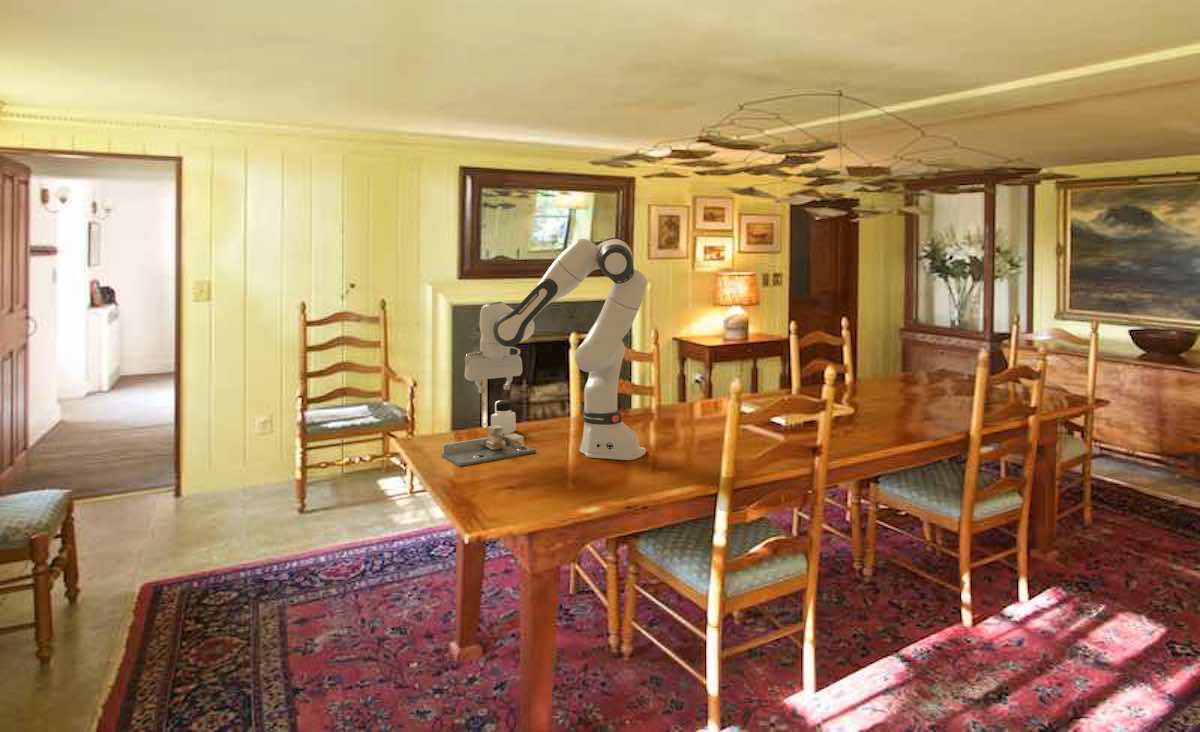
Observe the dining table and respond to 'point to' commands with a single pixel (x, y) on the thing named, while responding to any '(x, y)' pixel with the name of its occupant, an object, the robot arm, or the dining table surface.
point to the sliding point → (495, 438)
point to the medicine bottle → (504, 416)
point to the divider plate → (484, 450)
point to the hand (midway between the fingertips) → (494, 391)
